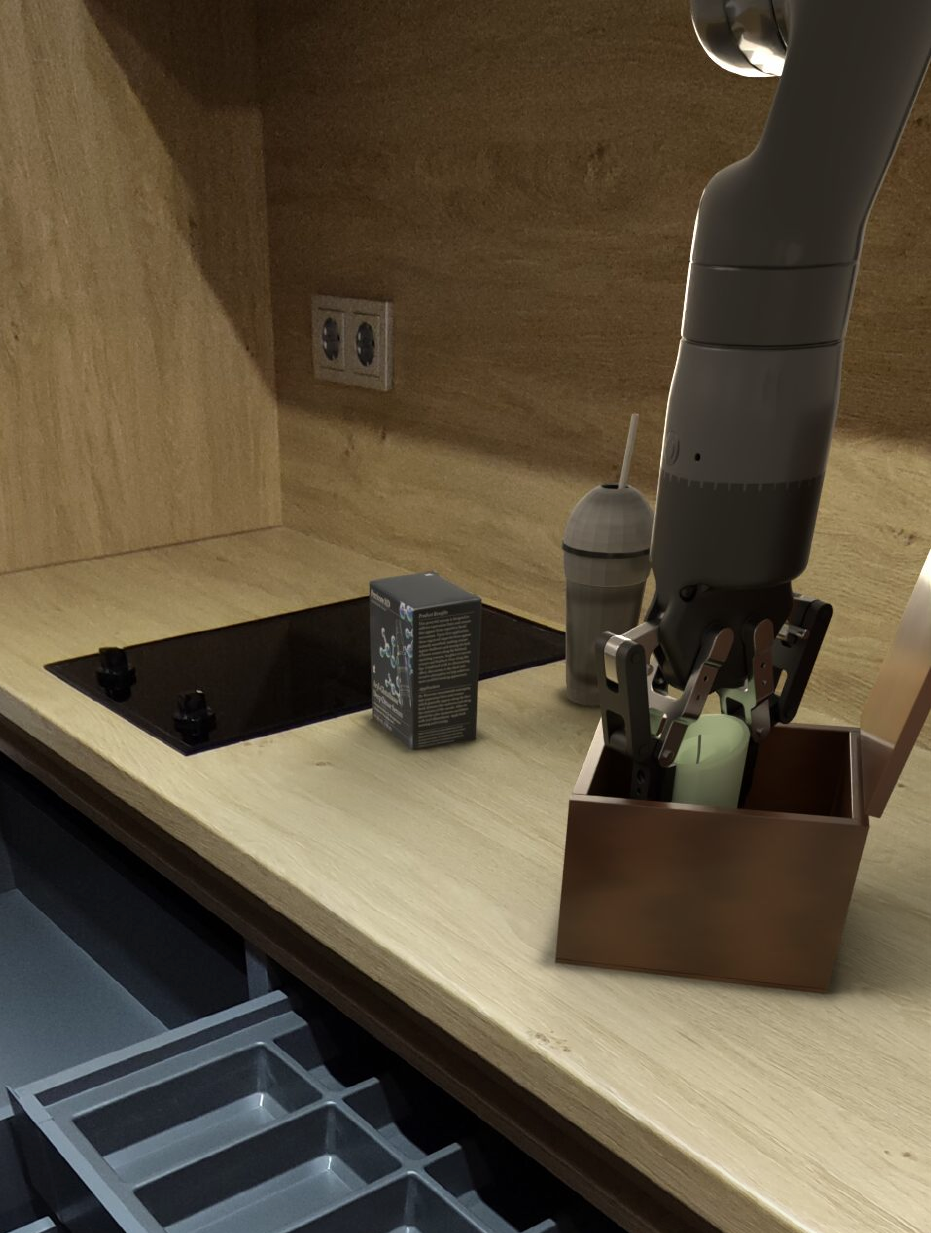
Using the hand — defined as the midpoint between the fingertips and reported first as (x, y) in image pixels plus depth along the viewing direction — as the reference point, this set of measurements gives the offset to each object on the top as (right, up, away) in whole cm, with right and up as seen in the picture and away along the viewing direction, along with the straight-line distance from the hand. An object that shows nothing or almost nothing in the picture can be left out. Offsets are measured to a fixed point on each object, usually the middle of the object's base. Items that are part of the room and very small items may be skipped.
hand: (688, 815), depth 69 cm
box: (-14, +16, +28) cm, 35 cm away
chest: (+2, -5, +4) cm, 7 cm away
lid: (+9, +7, -10) cm, 15 cm away
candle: (0, -3, +2) cm, 4 cm away
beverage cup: (+1, +20, +33) cm, 39 cm away
